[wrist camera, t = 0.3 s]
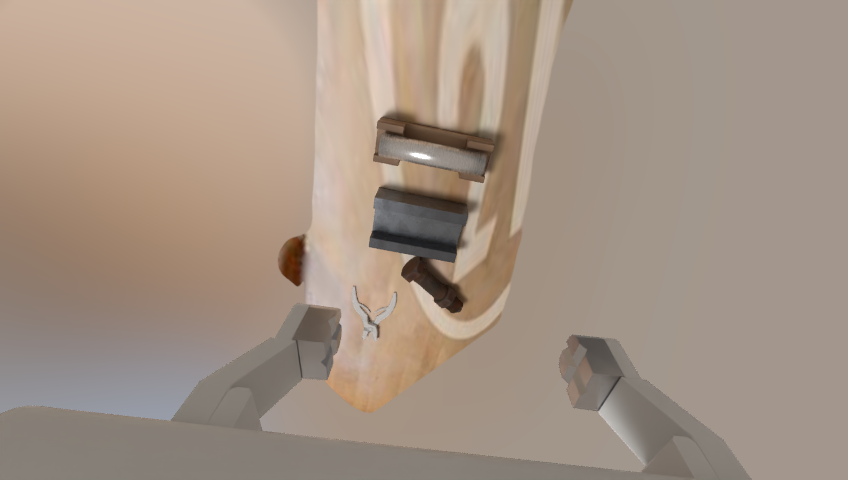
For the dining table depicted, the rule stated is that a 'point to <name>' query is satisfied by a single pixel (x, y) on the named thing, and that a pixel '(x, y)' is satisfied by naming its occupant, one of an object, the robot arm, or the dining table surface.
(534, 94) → the dining table surface
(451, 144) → the beam
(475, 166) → the axle
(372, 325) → the pliers
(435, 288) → the bolt
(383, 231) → the v block
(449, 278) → the dining table surface
